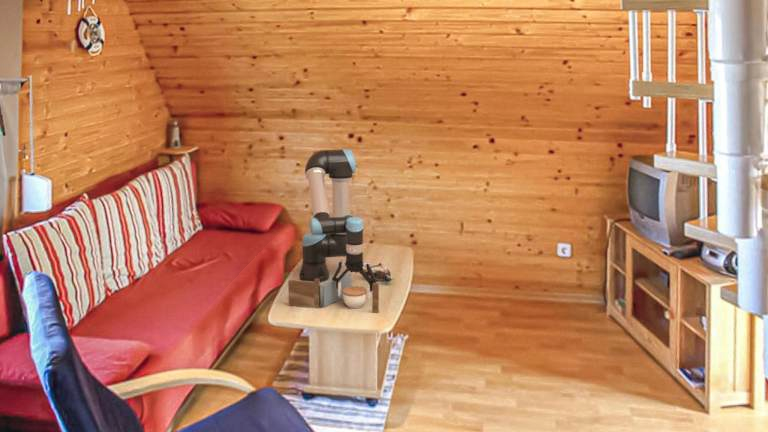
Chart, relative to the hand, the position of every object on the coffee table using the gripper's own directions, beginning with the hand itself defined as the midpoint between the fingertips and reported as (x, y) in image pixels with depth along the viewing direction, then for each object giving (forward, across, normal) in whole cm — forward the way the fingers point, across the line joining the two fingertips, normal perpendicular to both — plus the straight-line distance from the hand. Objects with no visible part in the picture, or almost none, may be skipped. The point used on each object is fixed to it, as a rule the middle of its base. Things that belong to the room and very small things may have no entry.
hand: (354, 296), depth 321 cm
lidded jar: (+5, 0, 0) cm, 5 cm away
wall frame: (+4, -8, -6) cm, 11 cm away
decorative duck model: (+5, +4, +33) cm, 34 cm away
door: (+4, -10, +4) cm, 11 cm away
